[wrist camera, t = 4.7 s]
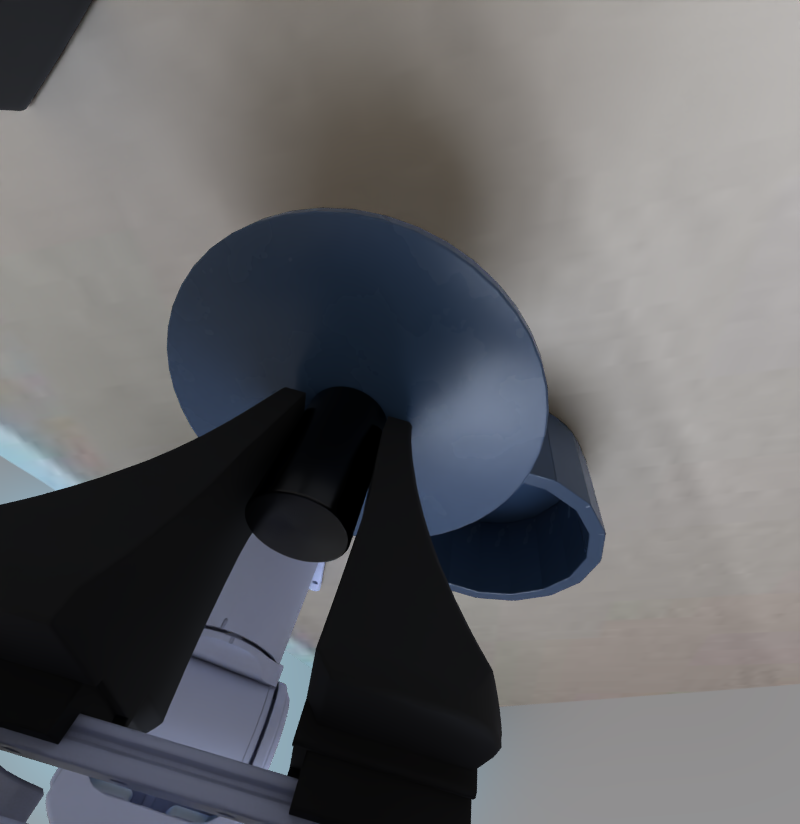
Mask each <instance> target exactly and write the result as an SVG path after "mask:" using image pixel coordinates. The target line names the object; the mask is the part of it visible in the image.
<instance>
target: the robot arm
mask: <svg viewBox="0 0 800 824" xmlns="http://www.w3.org/2000/svg"><path fill="white" fill-rule="evenodd" d="M305 400H306V393H305V392H302V391H298V390H295V389H291V388H287V387H284V388H282V389H281V390H279V391H277V392H276V393H274V394H272V395H271V396H269V397H268V398H266V399H264V400H263V401H261V402H260V403H258V404H256V405H255V406H253V407H251V408H250V409H248V410H247V411H245V412H243V413H241V414H240V415H238V416H236V417H235V418H233V419H231V420H229V421H228V422H226V423H224V424H223V425H221V426H219V427H217V428H215V429H213V430H211V431H210V432H208V433H206V434H204V435H202V436H200V437H198V438H196V439H194V440H192V441H190V442H188V443H186V444H184V445H182V446H180V447H178V448H176V449H173V450H171V451H169V452H166V453H164V454H162V455H159V456H157V457H155V458H152V459H150V460H147V461H145V462H142V463H139V464H137V465H134V466H131V467H128V468H125V469H123V470H120V471H117V472H114V473H111V474H109V475H106V476H103V477H100V478H97V479H94V480H91V481H87V482H84V483H81V484H78V485H74V486H71V487H68V488H64V489H61V490H57V491H53V492H50V493H46V494H43V495H39V496H36V497H31V498H27V499H23V500H19V501H15V502H10V503H7V504H2V505H0V750H3V751H7V752H10V753H13V754H16V755H20V756H23V757H26V758H29V759H33V760H36V761H39V762H43V763H46V764H50V765H52V766H56V767H58V769H57V770H56V772H55V774H54V776H53V777H52V779H51V781H50V786H51V788H50V790H49V792H48V793H47V796H46V809H47V816H48V819H49V823H50V824H243V823H244V824H471V799H475V798H476V793H477V768H479V767H480V766H481V765H483V764H484V763H486V762H487V761H489V760H490V759H491V758H493V757H494V756H495V755H496V754H497V752H498V751H499V750H500V749H501V736H502V731H501V718H500V709H499V702H498V695H497V690H496V684H495V679H494V675H493V671H492V669H491V667H490V665H489V663H488V661H487V660H486V658H485V656H484V654H483V652H482V651H481V649H480V647H479V645H478V643H477V642H476V640H475V638H474V636H473V634H472V632H471V630H470V628H469V626H468V625H467V622H466V620H465V618H464V616H463V614H462V612H461V610H460V608H459V606H458V604H457V602H456V600H455V598H454V595H453V593H452V591H451V588H450V586H449V584H448V581H447V579H446V577H445V574H444V572H443V570H442V567H441V565H440V563H439V560H438V557H437V554H436V552H435V549H434V546H433V543H432V540H431V537H430V534H429V531H428V528H427V525H426V521H425V518H424V514H423V510H422V506H421V502H420V498H419V494H418V489H417V484H416V478H415V472H414V466H413V457H412V443H411V435H412V425H411V423H410V422H408V421H404V420H401V419H397V418H394V417H390V416H388V418H387V421H386V423H385V426H384V428H383V431H382V434H381V439H380V443H379V447H378V451H377V455H376V460H375V464H374V469H373V474H372V478H371V482H370V485H369V488H368V493H367V497H366V501H365V506H364V511H363V516H362V520H361V523H360V526H359V529H358V531H357V534H356V537H355V540H354V543H353V546H352V549H351V552H350V555H349V558H348V561H347V563H346V566H345V569H344V572H343V575H342V578H341V581H340V583H339V586H338V589H337V592H336V595H335V598H334V600H333V603H332V606H331V609H330V612H329V614H328V617H327V620H326V623H325V625H324V628H323V631H322V634H321V636H320V639H319V642H318V645H317V647H316V652H315V657H314V662H313V668H312V673H311V678H310V684H309V689H308V694H307V699H306V702H305V705H304V708H303V711H302V714H301V718H300V721H299V724H298V727H297V730H296V734H295V737H294V740H293V743H292V746H293V752H292V758H291V764H290V769H289V772H288V775H287V776H286V775H283V774H280V773H276V772H273V771H270V770H268V769H269V767H270V764H271V762H272V759H273V757H274V754H275V751H276V748H277V746H278V743H279V740H280V737H281V734H282V731H283V728H284V724H285V721H286V717H287V713H288V708H289V696H288V693H287V686H286V684H284V683H282V682H278V680H279V678H280V675H281V673H282V670H283V665H281V664H280V661H281V659H282V656H283V654H284V651H285V648H286V646H287V643H288V641H289V638H290V636H291V633H292V630H293V628H294V625H295V623H296V620H297V617H298V615H299V612H300V610H301V607H302V604H303V602H304V599H305V597H306V594H307V592H308V589H310V590H313V591H319V590H320V587H321V583H322V577H323V572H324V566H325V562H319V563H317V562H305V561H300V560H296V559H292V558H289V557H287V556H284V555H282V554H280V553H278V552H276V551H274V550H272V549H270V548H269V547H268V546H266V545H265V544H263V543H262V542H261V541H260V540H259V539H258V538H257V537H256V536H255V535H254V534H253V533H252V531H251V530H250V528H249V527H248V525H247V522H246V519H245V507H246V504H247V502H248V500H249V499H250V497H251V496H252V494H253V493H254V491H255V489H256V488H257V486H258V485H259V483H260V481H261V480H262V478H263V477H264V475H265V474H266V472H267V470H268V469H269V467H270V466H271V464H272V462H273V461H274V459H275V458H276V456H277V455H278V453H279V451H280V450H281V448H282V447H283V445H284V443H285V442H286V440H287V439H288V437H289V436H290V434H291V432H292V431H293V429H294V428H295V426H296V424H297V423H298V421H299V420H300V418H301V417H302V415H303V413H304V412H305ZM42 797H43V789H42V788H40V787H38V786H36V785H34V784H31V783H29V782H27V781H25V780H23V779H21V778H19V777H17V776H15V775H13V774H12V773H10V772H8V771H6V770H5V769H4V768H3V767H1V766H0V824H27V823H26V821H27V819H28V818H29V816H30V815H31V813H32V812H33V810H34V809H35V807H36V806H37V804H38V803H39V801H40V800H41V798H42Z"/></svg>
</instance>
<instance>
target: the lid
mask: <svg viewBox="0 0 800 824" xmlns="http://www.w3.org/2000/svg"><path fill="white" fill-rule="evenodd" d="M167 354H168V363H169V371H170V375H171V379H172V383H173V387H174V390H175V393H176V395H177V398H178V401H179V403H180V406H181V408H182V410H183V412H184V414H185V416H186V418H187V420H188V422H189V424H190V426H191V427H192V429H193V430H194V432H195V433H196V435H197V436H198V437H200V436H202V435H204V434H206V433H208V432H210V431H211V430H213V429H215V428H217V427H219V426H221V425H223V424H224V423H226V422H228V421H229V420H231V419H233V418H235V417H236V416H238V415H240V414H241V413H243V412H245V411H247V410H248V409H250V408H251V407H253V406H255V405H256V404H258V403H260V402H261V401H263V400H264V399H266V398H268V397H269V396H271V395H272V394H274V393H276V392H277V391H279V390H281V389H282V388H284V387H287V388H291V389H295V390H298V391H302V392H305V393H306V400H305V412H304V413H303V415H302V417H301V418H300V420H299V421H298V423H297V424H296V426H295V428H294V429H293V431H292V432H291V434H290V436H289V437H288V439H287V440H286V442H285V443H284V445H283V447H282V448H281V450H280V451H279V453H278V455H277V456H276V458H275V459H274V461H273V462H272V464H271V466H270V467H269V469H268V470H267V472H266V474H265V475H264V477H263V478H262V480H261V481H260V483H259V485H258V486H257V488H256V489H255V491H254V493H253V494H252V496H251V497H250V499H249V500H248V502H247V504H246V507H245V519H246V522H247V525H248V527H249V528H250V530H251V531H252V533H253V534H254V535H255V536H256V537H257V538H258V539H259V540H260V541H261V542H262V543H263V544H265V545H266V546H268V547H269V548H270V549H272V550H274V551H276V552H278V553H280V554H282V555H284V556H287V557H289V558H292V559H296V560H300V561H305V562H317V563H319V562H328V561H332V560H335V559H337V558H339V557H340V556H342V555H343V554H344V553H345V552H346V551H347V550H348V548H349V546H350V543H351V540H352V537H353V536H356V534H357V531H358V529H359V526H360V523H361V520H362V516H363V511H364V506H365V501H366V497H367V493H368V488H369V485H370V482H371V478H372V474H373V469H374V464H375V460H376V455H377V451H378V447H379V443H380V439H381V434H382V431H383V428H384V426H385V423H386V421H387V418H388V416H390V417H394V418H397V419H401V420H404V421H408V422H410V423H411V425H412V435H411V443H412V457H413V466H414V472H415V478H416V484H417V489H418V494H419V498H420V502H421V506H422V510H423V514H424V518H425V521H426V525H427V528H428V531H429V534H430V536H433V535H438V534H443V533H446V532H449V531H452V530H456V529H459V528H461V527H464V526H466V525H468V524H471V523H473V522H475V521H477V520H479V519H481V518H482V517H484V516H486V515H487V514H489V513H491V512H492V511H494V510H495V509H496V508H498V507H499V506H500V505H501V504H503V503H504V502H505V501H507V500H508V499H509V498H510V496H511V495H512V494H513V493H514V492H515V491H516V490H517V489H518V488H519V487H520V486H521V485H522V483H523V482H524V480H525V479H526V477H527V476H528V475H529V473H530V472H531V470H532V468H533V466H534V464H535V462H536V460H537V458H538V456H539V454H540V451H541V448H542V445H543V441H544V438H545V435H546V429H547V421H548V412H549V406H548V387H547V382H546V377H545V373H544V368H543V364H542V360H541V355H540V352H539V350H538V347H537V345H536V342H535V340H534V337H533V335H532V332H531V330H530V328H529V327H528V325H527V323H526V321H525V320H524V318H523V316H522V315H521V313H520V311H519V310H518V308H517V306H516V305H515V304H514V302H513V301H512V300H511V299H510V297H509V296H508V295H507V294H506V292H505V291H504V290H503V289H502V287H501V286H500V285H499V284H498V282H497V281H495V280H494V279H493V278H492V277H491V276H490V275H489V274H488V273H487V272H486V271H485V270H484V269H483V268H482V267H480V266H479V265H478V264H477V263H476V262H475V261H474V260H473V259H471V258H470V257H468V256H467V255H465V254H464V253H463V252H461V251H460V250H458V249H457V248H455V247H454V246H453V245H451V244H450V243H448V242H447V241H445V240H443V239H441V238H439V237H437V236H435V235H433V234H431V233H429V232H427V231H425V230H423V229H421V228H420V227H418V226H415V225H412V224H409V223H406V222H403V221H400V220H398V219H395V218H392V217H389V216H386V215H381V214H376V213H371V212H366V211H361V210H356V209H341V208H313V209H303V210H294V211H289V212H285V213H282V214H278V215H274V216H270V217H267V218H264V219H261V220H259V221H257V222H255V223H253V224H250V225H248V226H246V227H244V228H242V229H240V230H238V231H235V232H233V233H231V234H230V235H229V236H227V237H226V238H224V239H223V240H221V241H220V242H219V243H217V244H216V245H214V246H213V247H212V248H210V249H209V250H208V251H207V253H206V254H205V255H204V256H203V257H202V258H201V259H200V260H199V261H198V262H197V263H196V264H195V265H194V266H193V268H192V269H191V271H190V272H189V274H188V275H187V277H186V278H185V280H184V282H183V283H182V285H181V287H180V289H179V292H178V294H177V297H176V299H175V301H174V304H173V306H172V311H171V316H170V320H169V325H168V337H167Z"/></svg>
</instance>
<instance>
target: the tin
mask: <svg viewBox="0 0 800 824" xmlns="http://www.w3.org/2000/svg"><path fill="white" fill-rule="evenodd" d="M605 535H606V533H605V529H604V525H603V521H602V518H601V514H600V510H599V507H598V503H597V499H596V496H595V492H594V488H593V485H592V481H591V477H590V474H589V470H588V466H587V463H586V459H585V457H584V455H583V453H582V450H581V448H580V445H579V443H578V441H577V439H576V438H575V436H574V434H573V433H572V432H571V431H570V430H569V428H568V427H567V426H566V425H565V424H564V423H562V422H561V421H560V420H559V419H558V418H556V417H555V416H553V415H552V414H550V413H549V412H548V421H547V429H546V435H545V438H544V441H543V445H542V448H541V451H540V454H539V456H538V458H537V460H536V462H535V464H534V466H533V468H532V470H531V472H530V473H529V475H528V476H527V477H526V479H525V480H524V482H523V483H522V485H521V486H520V487H519V488H518V489H517V490H516V491H515V492H514V493H513V494H512V495H511V496H510V498H509V499H508V500H507V501H505V502H504V503H503V504H501V505H500V506H499V507H498V508H496V509H495V510H494V511H492V512H491V513H489V514H487V515H486V516H484V517H482V518H481V519H479V520H477V521H475V522H473V523H471V524H468V525H466V526H464V527H461V528H459V529H456V530H452V531H449V532H446V533H443V534H438V535H433V536H430V537H431V540H432V543H433V546H434V549H435V552H436V554H437V557H438V560H439V563H440V565H441V567H442V570H443V572H444V574H445V577H446V579H447V581H448V584H449V586H450V588H451V591H455V592H458V593H462V594H465V595H468V596H472V597H475V598H477V597H478V598H485V599H498V600H511V601H513V600H515V601H516V600H523V599H530V598H536V597H543V596H549V595H553V594H555V593H557V592H559V591H562V590H564V589H566V588H569V587H571V586H573V585H575V584H578V583H580V582H581V581H582V580H583V579H584V578H585V577H586V576H587V575H588V574H589V573H590V572H591V571H592V570H593V569H594V568H595V567H596V565H597V564H598V563H599V562H600V561H601V558H602V552H603V547H604V541H605Z"/></svg>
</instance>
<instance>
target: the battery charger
mask: <svg viewBox="0 0 800 824" xmlns="http://www.w3.org/2000/svg"><path fill="white" fill-rule="evenodd" d="M91 2H92V0H0V110H13V111H22V110H25V109H26V108H27V107H28V105H29V104H30V102H31V101H32V99H33V97H34V96H35V94H36V93H37V91H38V90H39V88H40V87H41V85H42V84H43V82H44V80H45V79H46V77H47V76H48V74H49V72H50V71H51V69H52V68H53V66H54V64H55V63H56V61H57V60H58V58H59V56H60V55H61V53H62V51H63V50H64V48H65V46H66V45H67V43H68V41H69V40H70V38H71V36H72V35H73V33H74V31H75V30H76V28H77V26H78V24H79V23H80V21H81V19H82V17H83V16H84V14H85V12H86V10H87V9H88V7H89V5H90V3H91Z"/></svg>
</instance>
